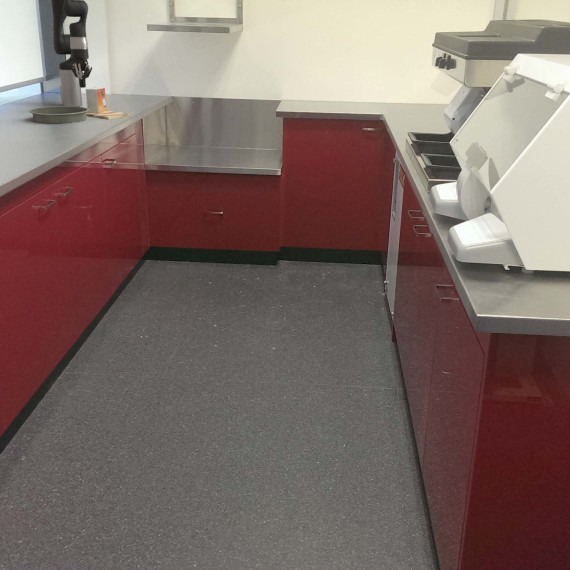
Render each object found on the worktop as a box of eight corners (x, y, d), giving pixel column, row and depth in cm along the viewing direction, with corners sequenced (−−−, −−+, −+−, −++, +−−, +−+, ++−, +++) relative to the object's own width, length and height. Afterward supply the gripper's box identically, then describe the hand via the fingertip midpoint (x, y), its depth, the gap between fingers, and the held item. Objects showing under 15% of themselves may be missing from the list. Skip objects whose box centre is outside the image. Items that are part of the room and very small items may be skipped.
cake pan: (29, 117, 301) (28, 106, 300) (86, 115, 310) (85, 105, 308) (31, 125, 280) (30, 114, 278) (92, 123, 288) (91, 112, 287)
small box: (98, 113, 307) (96, 89, 303) (87, 112, 308) (85, 88, 304) (107, 111, 314) (105, 87, 310) (96, 110, 316) (94, 87, 312)
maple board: (78, 114, 309) (78, 112, 308) (100, 111, 319) (100, 109, 318) (108, 119, 298) (108, 117, 298) (130, 116, 308) (130, 113, 308)
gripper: (62, 47, 306) (66, 87, 312) (82, 48, 299) (86, 89, 305) (76, 47, 312) (79, 86, 318) (95, 48, 305) (99, 87, 311)
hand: (82, 87), depth 312 cm, fingers closed
